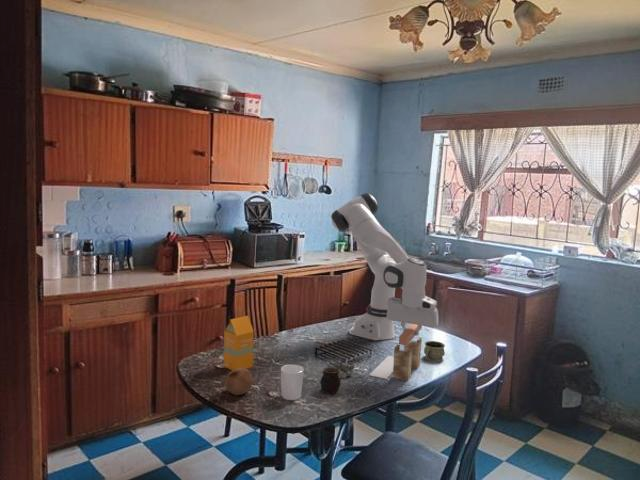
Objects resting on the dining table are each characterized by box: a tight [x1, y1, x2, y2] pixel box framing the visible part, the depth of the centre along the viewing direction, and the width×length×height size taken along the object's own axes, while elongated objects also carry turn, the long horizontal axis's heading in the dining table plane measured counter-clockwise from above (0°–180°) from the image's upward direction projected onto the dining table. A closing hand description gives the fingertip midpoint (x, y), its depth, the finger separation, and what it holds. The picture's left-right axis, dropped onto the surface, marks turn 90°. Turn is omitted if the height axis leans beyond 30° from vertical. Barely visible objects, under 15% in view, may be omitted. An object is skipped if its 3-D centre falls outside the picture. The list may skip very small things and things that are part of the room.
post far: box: [403, 337, 423, 370], centre depth 210 cm, size 6×4×12 cm, turn 65°
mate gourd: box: [319, 364, 342, 394], centre depth 183 cm, size 7×8×10 cm
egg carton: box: [326, 360, 356, 379], centre depth 200 cm, size 11×8×4 cm
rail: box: [398, 324, 423, 346], centre depth 202 cm, size 3×24×3 cm, turn 156°
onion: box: [225, 368, 254, 396], centre depth 178 cm, size 10×9×10 cm
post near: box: [392, 344, 413, 382], centre depth 197 cm, size 6×4×12 cm, turn 64°
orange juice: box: [223, 315, 255, 371], centre depth 202 cm, size 8×9×20 cm
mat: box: [369, 355, 394, 381], centre depth 208 cm, size 7×24×1 cm, turn 154°
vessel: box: [423, 340, 446, 362], centre depth 220 cm, size 12×9×6 cm
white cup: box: [280, 364, 304, 401], centre depth 177 cm, size 8×8×10 cm
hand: (411, 334), depth 202 cm, fingers closed on rail, 3 cm apart
